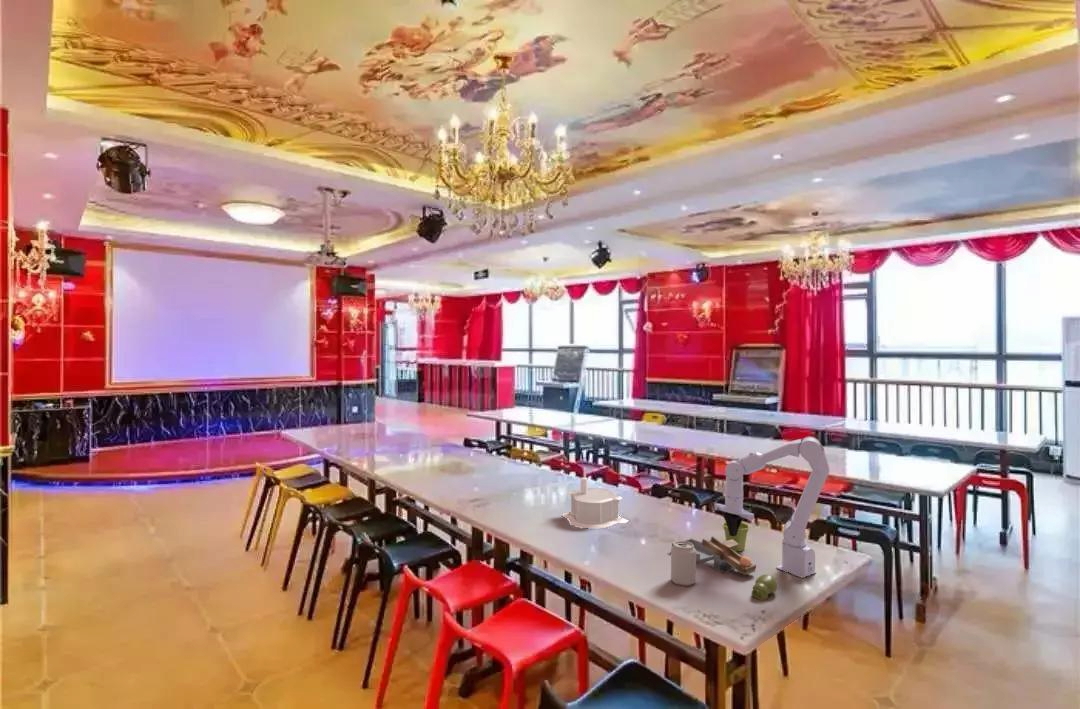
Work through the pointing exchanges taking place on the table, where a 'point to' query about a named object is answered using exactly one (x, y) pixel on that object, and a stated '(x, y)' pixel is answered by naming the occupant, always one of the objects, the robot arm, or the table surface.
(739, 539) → the plant pot
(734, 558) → the plank
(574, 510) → the birthday cake
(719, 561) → the fulcrum
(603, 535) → the table surface
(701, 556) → the tray
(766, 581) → the pear
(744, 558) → the ball
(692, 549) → the can
